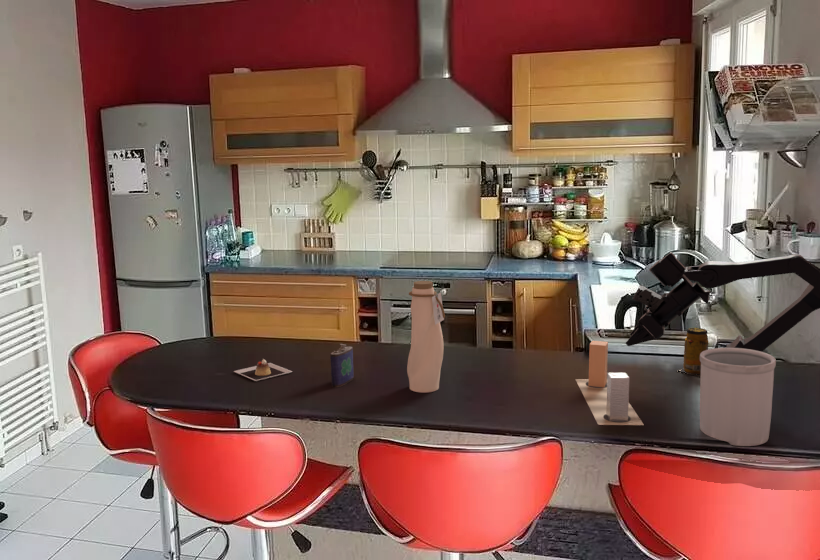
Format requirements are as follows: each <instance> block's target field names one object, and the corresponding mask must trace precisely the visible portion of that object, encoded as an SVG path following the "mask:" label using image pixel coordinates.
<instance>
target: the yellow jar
mask: <svg viewBox="0 0 820 560" xmlns="http://www.w3.org/2000/svg"><path fill="white" fill-rule="evenodd" d="M683 347H684V350H683V352H684V353H683V367H682V368H683V369H684V371H685V372H686V373H687V374H686V375H691V376H695V377H700V378H701V362H700V353H701V352H703V351H705V350H709V340H708V329H705V328H701V327H689V328H687V330H686V337H685V338H684V346H683ZM678 370H679V371H681V370H682V369H678Z"/></svg>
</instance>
